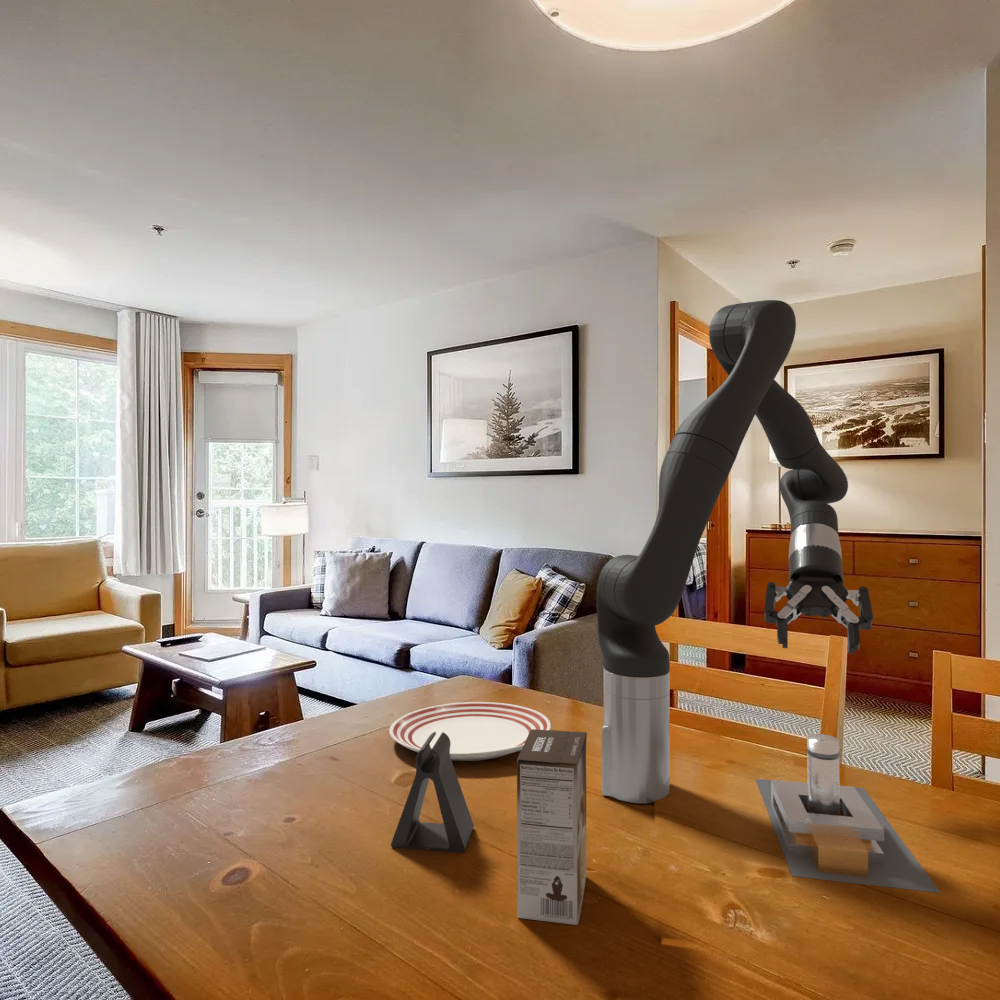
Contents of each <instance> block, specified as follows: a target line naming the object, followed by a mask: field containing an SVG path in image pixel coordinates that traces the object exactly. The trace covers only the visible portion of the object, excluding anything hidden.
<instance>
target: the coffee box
mask: <svg viewBox="0 0 1000 1000" xmlns="http://www.w3.org/2000/svg"><path fill="white" fill-rule="evenodd" d="M587 735H588V733H587V732H586V731H568V730H554V729H550V730H536V729H532V730H531V731H530V733H529V735H528V737H527V739H526V741H525V744H524V746H523V748H522V750H520V751H519V754H518V756H517V758H516V759H517V760H516V869H517V870H516V877H517V878H516V910H517V911H516V913H517V914H516V916H517V918H519V919H524V920H525V919H526V920H534V921H539V922H549V923H557V924H565V925H573V926H578V925H579V922H580V918H581V913H582V906H583V899H584V895H585V894H584V893H585V887H586V882H587V881H586V880H587Z"/></svg>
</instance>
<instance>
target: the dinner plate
mask: <svg viewBox="0 0 1000 1000" xmlns="http://www.w3.org/2000/svg"><path fill="white" fill-rule="evenodd" d="M532 729H536V730H552V723H551V721H550V718H548V717H547V716H546V715H544V714H543V713H542V712H540V711H537V710H535V709H531V708H529V707H526V706H521V705H518V704H517V705H516V704H512V703H503V702H493V701H491V702H490V701H489V702H488V701H487V702H486V701H465V702H451V703H444V704H438V705H431V706H428V707H424V708H420V709H416V710H414V711H410V712H409V713H406V714H404V715H402V716H401V717H399V718H397V719H396V720H395V721H393V722H392V724H391V725H390V727H389V730H388V732H389V735H390V737H391V738H392V739H393V740H394V741H395V742H396V743H398V744H399V745H401V746H403V747H405V748H406V749H409V750H411V751H412V752H413V751H414V752H416V753H418V752H419V751H420V749H421V748H422V746H423V745H424V743H425V742H426V740H427V739H428V737H429V736H430V735H431V734H432V733H433V732H436V735H435V736H434V738H433V739H432V741H431V742H430V747H431V749H432V748H433V746H434V745H435V743H436V742H437V740H438V738H439V737H440V735H441V734H442V732H443V733H445V734H446V735H447V736H448V737H449V739H450V743H451V744H450V758H451V761H457V762H458V761H460V762H471V761H472V762H473V761H475V762H476V761H485V760H491V759H497V758H501V757H504V756H508V755H510V754H513V753H517V752H521V750H522V748H523V746H524V744H525V741H526V739H527V737H528V735H529V733H530V731H531V730H532Z"/></svg>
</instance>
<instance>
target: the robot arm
mask: <svg viewBox="0 0 1000 1000" xmlns="http://www.w3.org/2000/svg"><path fill="white" fill-rule="evenodd" d="M796 318H797V317H796V315H795V311H794V309H793V308H792V306H791V305H790V304H788V303H787V302H785V301H783V300H779V299H778V300H777V299H764V300H757V301H749V302H741V303H734V304H729V305H728V304H727V305H725V306H723V307H721V308H720V309H718V310H717V311H716V313H715V314H714V315H713V316H712V318H711V320H710V324H709V330H708V338H709V345H710V347H711V350H712V351H713V352H712V353H713V354H714V356H715V358H716V360H717V361H718V363H719V364H720V366H721V368H723V370H724V371H725V373H726V374H727V376H728V377H727V378H726V379H725V380H724V382H723V383H722V384H721V385H720V386H718V388H717V389H716V390H715V391H713V392H712V393H711V394H710V395H709V396H708V397H706V399H705V400H703V401H702V402H700V404H699V405H698V406H697V407H696V408H694V410H692V411H691V412H690V413H689V414H688V416H687V417H686V418H685V419H684V420H683V421H682V422H681V424H680V425H679V427H678V428H677V430H676V431H675V434H674V436H673V439H672V440H671V442H670V445H669V447H668V449H667V451H666V453H665V456H664V459H663V461H662V463H661V466H660V473H659V478H658V480H659V481H658V483H659V484H658V509H657V514H656V518H655V522H654V525H653V527H652V529H651V531H650V534H649V536H648V538H647V541H646V542H645V545H644V546H643V548H642V550H641V552H640V553H639V555H632V554H622V555H617V556H615V557H612V558H611V559H610V560H608V562H606V563H605V565H604V566H603V567H602V569H601V570H600V573H599V575H598V576H599V577H598V580H597V584H596V585H597V586H596V616H597V619H596V620H597V639H598V644H599V645H598V646H599V647H600V651H601V654H602V657H603V722H602V728H601V737H602V738H601V753H602V754H601V777H602V778H601V795H602V796H607V797H611V798H614V799H616V800H618V801H622V802H627V803H631V804H653V803H655V801H658V800H662V799H664V798H665V797H667V796H668V795H669V794H670V783H671V780H670V779H671V777H670V775H671V774H670V755H671V754H670V749H671V747H670V744H671V743H670V731H671V730H670V724H671V723H670V719H671V718H670V712H671V710H670V707H671V705H670V703H671V702H670V696H671V695H670V688H671V687H670V680H671V679H670V674H671V673H670V672H671V671H670V669H671V668H670V665H671V664H670V652H669V650H668V648H667V647H666V646H665V645H664V643H663V642H662V641H661V639H660V637H659V635H658V633H657V630H656V626H657V625H661V624H663V623H664V622H666V621H667V620H669V618H670V617H671V616H672V615H673V613H675V611H676V610H677V608H678V605H679V603H680V602H681V599H682V596H683V593H684V591H685V588H686V584H687V581H688V578H689V575H690V572H691V569H692V565H693V562H694V558H695V556H696V552H697V550H698V547H699V544H700V541H701V538H702V536H703V533H704V531H705V529H706V527H707V525H708V522H709V519H710V518H711V515H712V514H713V510H714V508H715V505H716V503H717V501H718V498H719V496H720V494H721V492H722V490H723V488H724V486H725V484H726V481H727V480H728V477H729V475H730V472H731V470H732V468H733V465H734V463H735V461H736V459H737V458H738V454H739V451H740V448H741V446H742V443H743V441H744V439H745V437H746V435H747V433H748V430H749V429H750V426H751V424H752V423H753V420H754V417H756V418H757V420H758V422H759V423H760V425H761V427H762V428H763V431H764V433H765V436H766V437H767V440H768V442H769V444H770V447H771V449H772V451H773V453H774V455H775V458H776V460H777V462H778V463H779V464H780V466H781V467H782V468H785V469H788V471H786V472H785V473H784V474H783V475H782V476H781V477H780V480H779V483H778V484H779V485H778V486H779V487H778V488H779V492H780V495H781V497H782V499H783V502H784V504H785V506H786V508H787V512H788V514H789V520H790V540H789V547H788V583H787V585H786V586H785V587H784V586H778V585H776V583H775V582H774V581H769V582H768V583H766V592H765V593H766V594H765V600H764V601H765V602H764V609H763V610H764V621H765V623H767V624H771V623H772V624H775V625H776V628H777V631H776V632H777V633H776V634H777V635H776V640H777V641H776V642H777V643H778V645H781V647H782V649H788V641H789V640H788V635H789V633H788V625H789V624H791V622H792V621H795V620H796V619H797V618H799V616H801V615H802V614H804V616H805V617H814V616H818V617H822V618H828V617H830V616H832V618H833V619H835V621H837V623H839V624H842V625H843V626H844V627H845V628H846V631H847V632H846V635H847V638H846V639H847V650H848V651H847V652H848V654H849V655H851V654H852V655H854V654H855V651H859V650H860V646H861V645H860V644H861V638H860V631H861V630H865V631H870V630H871V629H872V628H873V620H874V615H873V609H872V603H871V597H870V592H869V591H870V590H869V588H868V587H866V586H860V587H859V588H858V589H847V588H846V587H845V585H844V573H843V557H842V547H841V546H842V545H841V542H840V538H839V537H840V535H839V522H838V514H837V511H836V509H835V508H834V507H833V506H832V505H830V504H834V503H837V502H840V501H842V500H843V499H844V498H845V497H846V495H847V493H848V490H849V481H848V477H847V475H846V473H845V472H844V470H843V468H842V467H841V466H840V464H839V463H838V462H837V461H836V460H835V458H833V457H832V456H831V455H830V454H829V452H827V450H826V449H825V447H823V445H822V443H821V441H820V440H819V438H818V435H817V432H816V430H815V428H814V425H813V423H812V421H811V417H810V415H809V414H808V412H807V411H806V409H805V408H804V407H803V405H802V404H800V402H799V401H798V400H797V399H796V398H795V397H794V396H793V395H792V394H791V393H789V392H788V391H787V390H786V389H785V388H783V386H781V385H780V383H778V382H777V381H776V380H775V379H776V377H777V375H778V373H779V372H780V370H781V369H782V366H783V365H784V363H785V362H786V358H787V357H788V355H789V353H790V351H791V348H792V345H793V342H794V339H795V337H796V336H795V334H796V330H797V329H796V328H797V321H796ZM784 596H785V597H786V598H787V600H788V601H787V602H786V603H785V606H784V607H782V608H781V610H780V611H776V610H775V607H776V602H778V601H780V600H781V598H782V597H784ZM848 600H851V601H852V603H853V604H854V605H855V606H856V607H858V609H859V614H860V615H859V616H857V615H856V613H854V612H853V611H851V609H850V607H849V605H848V604H847V603H846V602H847V601H848Z"/></svg>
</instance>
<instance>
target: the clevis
mask: <svg viewBox="0 0 1000 1000" xmlns="http://www.w3.org/2000/svg"><path fill="white" fill-rule="evenodd" d="M770 780H771V811H772V814H773V816H774V819H775V821H776V824H777V826H778V829H779V832H780V834H781V837H782V839H783V842H784V844H785V847H786V849H787V852H788V855H792V856H802V857H811V858H812V859H813V861H814V863H815V865H816V867H817V870H818V872H825V873H834V874H843V875H852V876H862V877H868V864H877V865H884V853H883V851H882V850H881V848H880V847H879V845H878V844H877V842H876V841H875V840H877V841H884V829H883V827H882V826H881V825H880V823H879V822H878V820H877V819H876V817H875V816H874V815H873V813H872V812H871V810H870V809H869V808H868V806H867V805H866V803H865V802H864V800H863V799H862V798H861V796H860V795H859V793H858V792H857V791H856V789H855V788H854V786H851V785H850V786H849V785H839V786H840V816H836V815H826V814H815V813H808V789H807V782H802V781H801V782H800V781H792V780H791V781H790V780H779V779H770Z"/></svg>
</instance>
